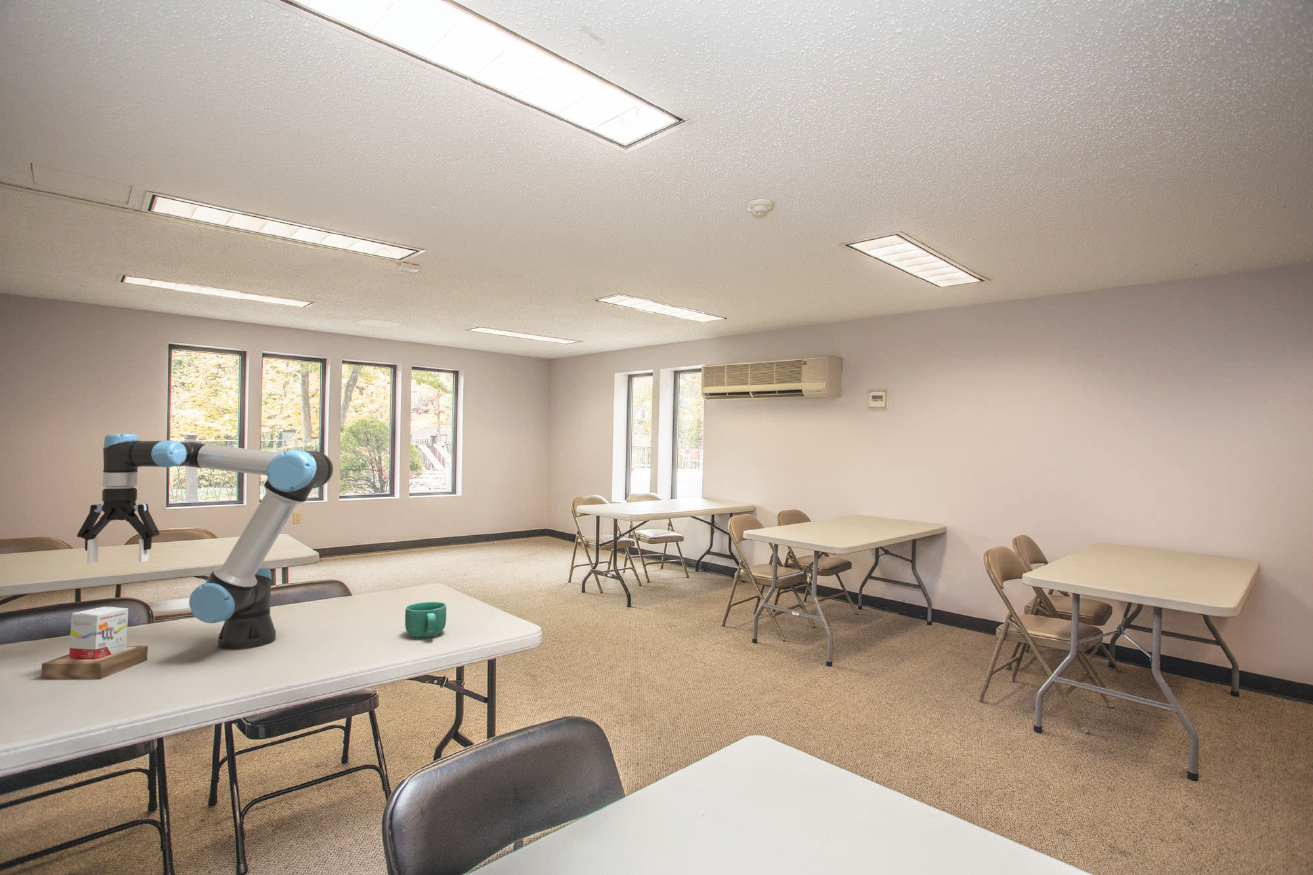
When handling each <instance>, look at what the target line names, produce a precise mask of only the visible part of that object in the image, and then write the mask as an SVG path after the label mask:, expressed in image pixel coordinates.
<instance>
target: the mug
mask: <svg viewBox="0 0 1313 875" xmlns="http://www.w3.org/2000/svg"><path fill="white" fill-rule="evenodd" d="M404 612H405V614H404V627H405V628H404V629H405V631H406V632H407V633H408V634H409V635H410V636H412V637H414V638H417V639H427V638H433V637H435V636H437V635H438V634H439V633H442V631H444V629H445V627H446V625H447V604H446V603H445V602H441V601H423V602H417V603H412V604H409V605H406V607H405V611H404Z"/></svg>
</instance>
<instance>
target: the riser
mask: <svg viewBox="0 0 1313 875" xmlns="http://www.w3.org/2000/svg"><path fill="white" fill-rule="evenodd" d="M148 648H149V647H148V645H127V646H126V650H124V651H121V652H118V653H115V654H111V655H108V656H104V657H101V658H98V659H83V658H70V657H69V654H65V655H63V656H60V657H57V658H53V659H51V660H48V661H46V662H45V661H44V662H42V663H41V671H40V672H41V675H40V679H41V680H103V679H104V678H107V677H109V676H112V675H114V674H116V673H119V672H121V671H124V670H126V669H129V668H132V667H133V666H136V665H138V664H141V663H144V662H146V661H148Z"/></svg>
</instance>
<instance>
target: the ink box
mask: <svg viewBox="0 0 1313 875" xmlns="http://www.w3.org/2000/svg"><path fill="white" fill-rule="evenodd" d="M70 620H71V621H70V638H69V657H70V658H83V659H98V658H101V657H104V656H108V655H111V654H115V653H118V652H121V651H124V650H126V646H128V645H127V642H128V622H129V608H127V607H126V608H125V607H116V606H115V607H114V606H100V607H96V608H90V609H87V610H86V609H85V610H82V611H77V612H72V613H71V618H70Z"/></svg>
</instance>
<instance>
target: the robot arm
mask: <svg viewBox="0 0 1313 875" xmlns="http://www.w3.org/2000/svg"><path fill="white" fill-rule="evenodd" d="M103 440H104V443H103V447H102V451H103V452H102V453H103V454H102V455H103V456H102V457H103V470H102V471H103V472H102V485H101V486H102V487H104V488H103V490H102V493H101V494H102V495H101V497H102V499H101V500H102V502H103V504H98V503H97V504H91V505H90V508H89V513H88V514H87V517H86V518H85V519H84V522H83V524H82V525H81V527H80V529H79V531H78V532H77V534H76V536H77V538H81V539H84V550H85V552H87V553H86V554H87V555H86V556H87V558H86V563H87V564H90V563H96V562H97V563H98V560H99V559H98V558H99V538H97V536H98V535H99V534H100V533H101V532H102V530H103V529H104V528H106V527H107V526H108V524H109V523H110V522H111V521H117V520H118V521H125V522H128V523H129V524H130V526H132V528H133V529H134V530H135V531H136V532H137V533H138V534H139V536H140V537H141V538H140V539H139V540H138V563H144V562H148V561H149V557H150V556H149V552H150V551H149V550H151V549H152V543H153V542H152V541H153V540H152V539H153V538H154V537H157V536H160V534H161V532H160V531H159V529H158V526H157V525H156V523H155V521H154V519H153V516H152V515H151V513H150V511H149V510H150V509H149V504H148V503H142V504H141V503H140V504H137V503H136V501H137V500H138V488H136V486H138V468H141V467H144V468H145V467H146V468H147V467H150V468H151V467H152V468H155V467H156V468H157V467H158V468H159V467H160V468H173V467H189V468H191V467H192V468H196V469H197V468H198V469H208V470H219V471H225V472H234V473H235V472H236V473H241V474H242V473H243V474H252V475H259V476H267V479H266V481H265V482H264V484H263V488H264V490H265V494H264V496H263V497H262V499H261V501H260V502H259V504H258V505H257V507H256V509H255V511H254V513H253V514H252V516H251V518H250V519H249V521H248V523H247V524H246V526H245V528H244V529H243V531H242V532H241V534H240V536H239V538H238V539H237V541H236V543H235V544H234V546H233V547H232V550H231V551H230V553H229V554H228V555H227V558H226V559H225V561H224V563H223V564H220V565H217V566H216V567H214V569H213V570H212V571H211V573H210V575H209V576H208V578H207V579H206V582H203V583H202V584H200V585H198V586H197V587H196V588H194V589H193V590H192V592H191V594H190V596H189V600H188V604H189V606H188V607H189V608H190V610H191V614H192V615H193V617H195V618H196V619H197V620H199V621H200V622H203V623H204V624H205V623H206V624H217V623H222V622H223V625H222V628H221V630H220V633H219V635H218V637H217V647H218V649H223V650H242V649H244V650H245V649H251V648H257V647H261V646H264V645H268V644H270V643H272V642H274V641H275V640H276V639H277V631H276V628H275V625H274V622H273V620H272V617H271V600H272V599H271V594H272V580H273V578H272V571H271V569H270V568H268V567H261V566H262V563H263V562H264V560H265V559H266V557H267V555H268V554H269V552H270V551H271V549H272V547H273V546H274V544H275V541H277V539H278V537H279V535H280V533H281V532H282V530H283V528H284V527H285V525H286V523H287V522H288V520H289V518H290V516H292V514H293V511H294V510H295V508H296V506H297V505H299V504H303V503H305V502H306V501H307V498H308V497H309V496H310V495H311V492H312V490H313V489H316V488H320V487H322V486H325V485H326V484H327V483H328V482H329V481H330V480H331V478H332V477H333V472H334V465H333V462H332V461H331V459H330V458H329V457H328V456H327V455H326V454H325V453H323V452H321V451H318V450H317V451H315V450H300V449H292V450H286V451H284V452H276V451H266V450H259V449H251V448H243V447H242V448H241V447H233V446H228V445H227V446H226V445H225V446H224V445H219V444H218V445H217V444H207V443H202V442H198V441H177V440H139V436H138V435H137V434H133V433H109V434H108V433H107V434H106V435H105V436H104V439H103ZM102 512H103V514H102V515H101V513H102ZM135 512H137V513H135ZM137 514H138V515H137ZM100 516H101V517H100ZM99 517H100V518H99ZM98 519H99V520H98Z"/></svg>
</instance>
